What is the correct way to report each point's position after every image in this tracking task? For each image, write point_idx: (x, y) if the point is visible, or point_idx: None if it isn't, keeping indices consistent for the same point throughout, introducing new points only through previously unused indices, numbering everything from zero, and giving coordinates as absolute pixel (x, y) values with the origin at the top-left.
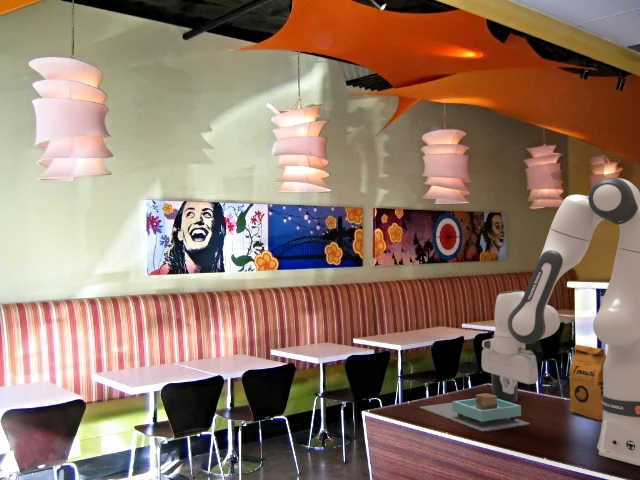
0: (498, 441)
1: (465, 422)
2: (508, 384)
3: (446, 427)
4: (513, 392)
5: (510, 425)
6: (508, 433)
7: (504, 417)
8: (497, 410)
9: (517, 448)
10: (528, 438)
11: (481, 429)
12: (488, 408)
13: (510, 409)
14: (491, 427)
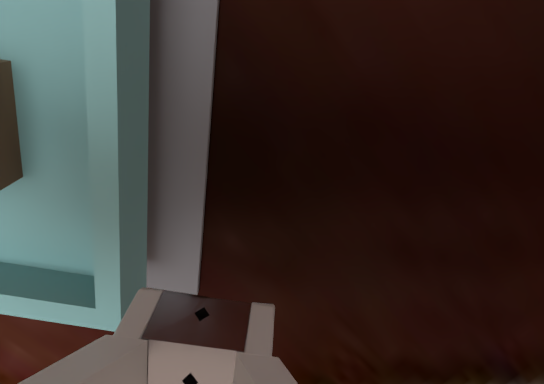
0: (363, 345)
1: None
2: (128, 351)
3: (45, 354)
4: (273, 315)
5: (196, 75)
6: (296, 202)
7: (147, 109)
8: (123, 196)
9: (497, 363)
10: (439, 191)
11: (175, 282)
12: (2, 159)
13: (124, 50)
14: (171, 211)
